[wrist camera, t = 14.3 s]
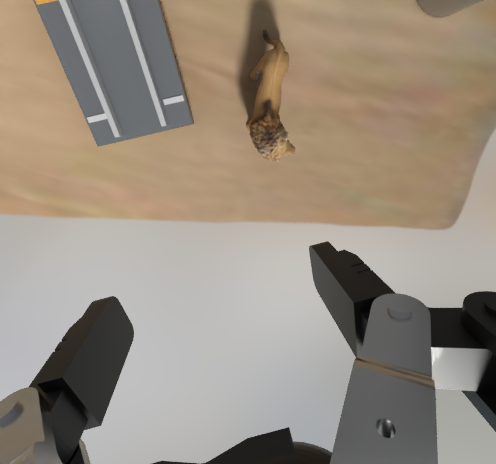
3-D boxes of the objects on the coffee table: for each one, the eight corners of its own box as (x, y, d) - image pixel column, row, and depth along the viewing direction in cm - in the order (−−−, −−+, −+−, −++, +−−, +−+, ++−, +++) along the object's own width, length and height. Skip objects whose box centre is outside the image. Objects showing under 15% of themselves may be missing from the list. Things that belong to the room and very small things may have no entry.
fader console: (128, -109, 26) (113, -152, 22) (194, 123, 35) (191, 124, 31) (10, -83, 26) (-29, -122, 22) (106, 144, 35) (92, 147, 31)
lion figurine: (282, 153, 38) (301, 162, 30) (246, 156, 38) (255, 165, 29) (283, 31, 32) (307, 0, 24) (240, 32, 32) (250, 1, 23)
